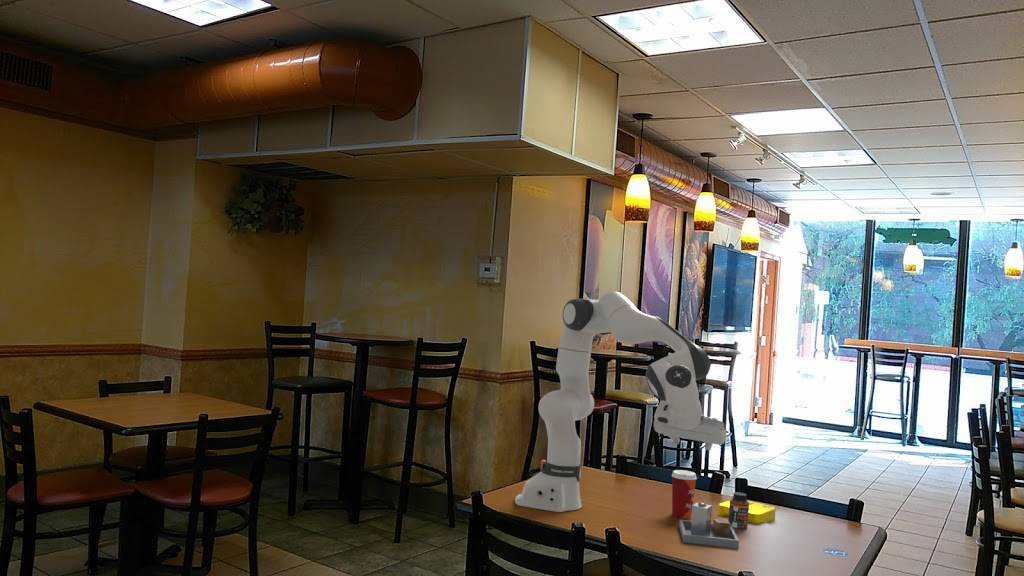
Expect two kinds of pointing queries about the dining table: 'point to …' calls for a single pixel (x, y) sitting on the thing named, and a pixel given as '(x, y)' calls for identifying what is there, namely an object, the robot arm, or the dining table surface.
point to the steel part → (701, 519)
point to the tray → (707, 537)
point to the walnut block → (721, 527)
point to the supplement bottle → (738, 511)
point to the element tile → (751, 512)
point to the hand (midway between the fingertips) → (692, 445)
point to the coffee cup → (683, 493)
